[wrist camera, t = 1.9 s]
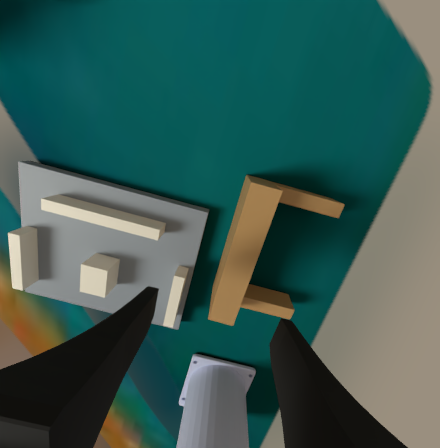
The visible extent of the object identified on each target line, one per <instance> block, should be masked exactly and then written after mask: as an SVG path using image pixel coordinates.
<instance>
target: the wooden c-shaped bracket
mask: <svg viewBox="0 0 440 448" xmlns="http://www.w3.org/2000/svg"><path fill="white" fill-rule="evenodd" d="M278 202H281V203H284V204H288V205H291V206H295V207H299V208H302V209H306V210H310V211H313V212H317V213H320V214H324V215H328V216H331V217H335V218H339V216H340V214H341V212H342V210H343V208H344V206H345V204H343V203H341V202H338V201H336V200H334V199H332V198H329V197H325V196H322V195H318V194H314V193H311V192H307V191H304V190H300V189H297V188H293V187H289V186H286V185H282V184H279V183H275V182H271V181H268V180H264V179H261V178H257V177H253V176H250V175H246V177H245V181H244V184H243V187H242V191H241V194H240V197H239V201H238V204H237V207H236V211H235V214H234V217H233V220H232V224H231V227H230V230H229V234H228V237H227V240H226V244H225V247H224V250H223V254H222V257H221V260H220V264H219V267H218V270H217V274H216V277H215V280H214V284H213V289H212V296H211V303H210V310H209V318H208V320H212V321H216V322H220V323H224V324H228V325H232V326H233V325H234V322H235V319H236V317H237V314H238V311H239V308H240V307H243V308H247V309H251V310H255V311H258V312H262V313H266V314H270V315H274V316H278V317H282V318H286V319H290V318H291V316H292V314H293V312H294V308H293V305H292V303H291V300H290V297H289V295H288V294H286V293H282V292H278V291H274V290H270V289H267V288H263V287H259V286H255V285H251V284H249V281H250V279H251V276H252V273H253V270H254V268H255V265H256V262H257V259H258V257H259V254H260V251H261V249H262V246H263V243H264V240H265V238H266V235H267V232H268V230H269V227H270V224H271V221H272V219H273V216H274V213H275V211H276V208H277V205H278Z"/></svg>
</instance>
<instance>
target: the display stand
mask: <svg viewBox="0 0 440 448" xmlns="http://www.w3.org/2000/svg"><path fill="white" fill-rule="evenodd" d="M18 168H19V185H20V204H21V222H22V228H20V229H17V230H14V231H11V232H9V233H8V239H9V251H10V264H11V276H12V288H14V289H18V290H22V291H23V290H24V289H25V292H29V293H33V294H37V295H41V296H45V297H49V298H53V299H57V300H61V301H65V302H69V303H73V304H77V305H81V306H85V307H89V308H93V309H97V310H101V311H105V312H109V313H115V312H116V311H118V310H119V309H120V308H122V307H123V306H124V305H125V304H127V303H128V302H129V301H131V300H132V299H133V298H134V297H136V296H137V295H138V294H139V293H140V292H141V291H143V290H144V289H145V288H146V287H148V286H150V287H155V288H159V291H158V296H157V302H156V307H155V313H154V317H153V320H152V322H151V323H153V324H157V325H161V326H165V327H169V328H173V329H177V330H178V328H179V325H180V322H181V318H182V314H183V310H184V306H185V302H186V298H187V295H188V291H189V287H190V283H191V279H192V275H193V271H194V267H195V264H196V260H197V256H198V252H199V248H200V244H201V240H202V236H203V233H204V229H205V225H206V221H207V217H208V213H209V209H206V208H202V207H199V206H195V205H191V204H188V203H184V202H180V201H177V200H173V199H169V198H166V197H162V196H158V195H155V194H151V193H147V192H143V191H140V190H136V189H132V188H129V187H125V186H121V185H118V184H114V183H110V182H107V181H103V180H99V179H95V178H92V177H88V176H84V175H81V174H77V173H73V172H70V171H66V170H62V169H59V168H55V167H51V166H48V165H44V164H40V163H36V162H33V161H18Z"/></svg>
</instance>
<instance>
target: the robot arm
mask: <svg viewBox="0 0 440 448" xmlns="http://www.w3.org/2000/svg"><path fill="white" fill-rule="evenodd" d="M158 291H159V288H155V287H150V286H148V287H146V288H145V289H144V290H143V291H141V292H140V293H139V294H138V295H137V296H136V297H134V298H133V299H132V300H131V301H129V302H128V303H127V304H125V305H124V306H123V307H122V308H120V309H119V310H118V311H116V312H115V313H113V314H112V315H110V316H109V317H107V318H106V319H105V320H103V321H101V322H100V323H98V324H97V325H95V326H94V327H92V328H90V329H88V330H87V331H85V332H83V333H81V334H80V335H78V336H76V337H74V338H72V339H70V340H68V341H66V342H64V343H62V344H60V345H58V346H56V347H54V348H52V349H50V350H47V351H45V352H43V353H41V354H39V355H36V356H34V357H32V358H29V359H27V360H24V361H21V362H19V363H16V364H14V365H11V366H8V367H6V368H3V369H1V370H0V448H93V447H94V444H95V442H96V440H97V437H98V435H99V432H100V430H101V428H102V425H103V423H104V421H105V418H106V416H107V414H108V411H109V409H110V407H111V404H112V402H113V400H114V398H115V395H116V393H117V391H118V388H119V386H120V384H121V382H122V380H123V378H124V376H125V374H126V372H127V370H128V368H129V366H130V364H131V363H132V361H133V359H134V357H135V355H136V353H137V351H138V350H139V348H140V346H141V344H142V342H143V340H144V338H145V336H146V334H147V332H148V330H149V327H150V325H151V322H152V320H153V317H154V313H155V307H156V302H157V296H158ZM270 357H271V366H272V371H273V376H274V381H275V386H276V391H277V396H278V401H279V406H280V412H281V418H282V425H283V434H284V443H285V448H408V447H406V446H405V445H404V444H403V443H402V442H400V441H399V440H398V439H397V438H396V437H395V436H394V435H393V434H391V433H390V432H389V431H388V430H387V429H386V428H385V427H383V426H382V425H381V424H380V423H379V422H378V421H377V420H376V419H375V418H374V417H373V416H372V415H371V414H369V412H368V411H367V410H366V409H364V408H363V407H362V406H361V405H360V404H359V403H358V402H357V401H356V400H355V399H354V398H353V396H352V395H351V394H350V393H349V392H348V391H347V390H346V389H345V388H344V387H343V386H342V385H341V384H340V382H339V381H338V380H337V379H336V378H335V377H334V376H333V374H332V373H331V372H330V371H329V370H328V369H327V367H326V366H325V365H324V363H322V361H321V360H320V358H319V357H318V356H317V355H316V353H315V352H314V351H313V349H312V348H311V347H310V345H309V344H308V343H307V341H306V340H305V338H304V337H303V336H302V334H301V333H300V332H299V330H298V329H297V328H296V326H295V325H294V324H293V322H292V321H290V320H286V319H282V318H281V320H280V322H279V324H278V326H277V329H276V331H275V333H274V335H273V338H272V340H271V342H270ZM255 374H256V370H255V369H254V368H253V367H249V366H245V365H241V364H236V363H232V362H228V361H224V360H220V359H216V358H212V357H208V356H204V355H200V354H194V355H193V357H192V360H191V363H190V367H189V370H188V373H187V376H186V380H185V383H184V386H183V390H182V393H181V396H180V399H179V405H181V406H184V410H183V416H182V421H181V426H180V432H179V437H178V442H177V448H249V443H248V426H247V408H246V393H247V391H248V389H249V387H250V385H251V383H252V380H253V378H254V376H255Z"/></svg>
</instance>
